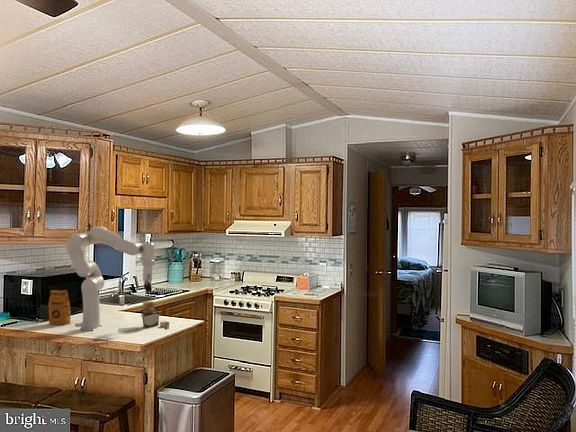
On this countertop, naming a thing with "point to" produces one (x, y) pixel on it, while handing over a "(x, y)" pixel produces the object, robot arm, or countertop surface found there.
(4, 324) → the countertop surface
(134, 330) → the parts board
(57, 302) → the coffee package
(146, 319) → the food container
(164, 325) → the oak block
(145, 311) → the walnut block
